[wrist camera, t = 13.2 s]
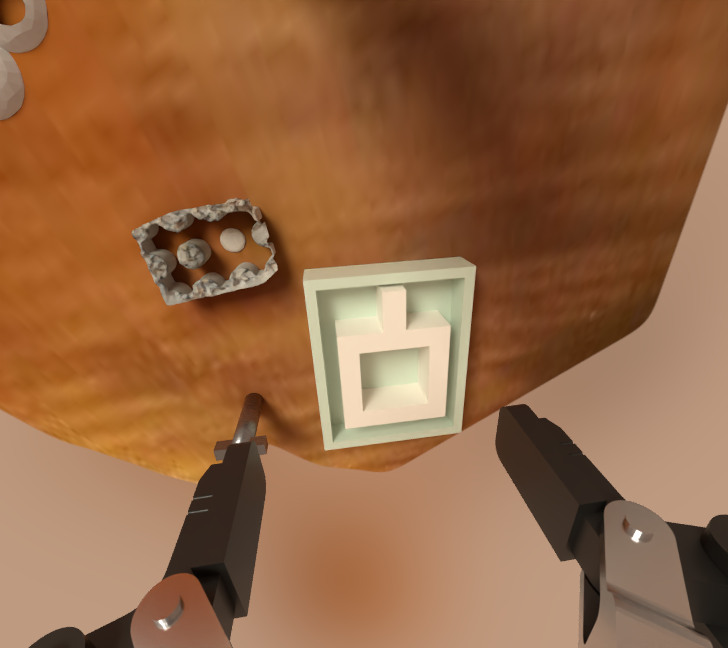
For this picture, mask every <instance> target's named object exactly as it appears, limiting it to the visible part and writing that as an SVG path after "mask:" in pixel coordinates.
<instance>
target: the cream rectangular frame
mask: <svg viewBox="0 0 728 648" xmlns="http://www.w3.org/2000/svg"><path fill="white" fill-rule="evenodd" d="M375 286H376V313H377V316H372V317H362V318H352V319H341V320H335V328H336V338H337V349H338V360H339V371H340V381H341V392H342V403H343V412H344V421H345V429H349V428H357V427H365V426H373V425H381V424H389V423H397V422H405V421H412V420H420V419H428V418H436V417H444V416H445V410H446V394H447V379H448V363H449V347H450V331H451V325H450V324H449V323H448V322H447V321H446V320H445V318H444V317H443V316H442V315H441V314H440V312H439V311H438V310H435V311H424V312H414V313H406V290H405V288H404V287H403V285H402V284H401V283H397V284H385V285H375ZM417 347H419V353H418V383H411V384H402V385H393V386H385V387H376V388H367V389H362V388H361V372H360V356H359V354H361V353H370V352H380V351H389V350H399V349H408V348H417Z"/></svg>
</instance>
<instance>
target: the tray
mask: <svg viewBox="0 0 728 648" xmlns="http://www.w3.org/2000/svg"><path fill="white" fill-rule="evenodd" d="M475 273H476V266H475V265H473V264H472V263H470V262H468V261H467V260H465V259H464V258H462V257H451V258H439V259H427V260H414V261H402V262H390V263H377V264H365V265H353V266H341V267H328V268H316V269H304V277H303V285H304V292H305V300H306V308H307V316H308V323H309V331H310V339H311V347H312V355H313V362H314V370H315V378H316V386H317V393H318V401H319V409H320V417H321V424H322V432H323V440H324V448H325V450H332V449H340V448H347V447H355V446H363V445H370V444H378V443H385V442H393V441H401V440H408V439H416V438H423V437H431V436H439V435H446V434H454V433H461V429H462V418H463V407H464V396H465V385H466V374H467V363H468V351H469V340H470V329H471V318H472V307H473V296H474V285H475ZM397 283H401V284H402V285H403V287H404V288H405V290H406V313H414V312H424V311H435V310H438V311H439V312H440V314H441V315H442V316H443V317H444V318H445V320H446V321H447V322H448V323H449V324H450V325H451V331H450V347H449V363H448V379H447V394H446V410H445V416H444V417H436V418H428V419H420V420H412V421H405V422H397V423H389V424H381V425H373V426H365V427H357V428H349V429H345V421H344V412H343V403H342V392H341V381H340V371H339V360H338V349H337V338H336V328H335V320H341V319H352V318H362V317H372V316H377V313H376V286H375V285H385V284H397ZM418 353H419V347H417V348H408V349H399V350H389V351H380V352H370V353H361V354H359V356H360V372H361V388H362V389H367V388H376V387H385V386H393V385H402V384H411V383H418Z"/></svg>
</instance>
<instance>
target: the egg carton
mask: <svg viewBox="0 0 728 648" xmlns="http://www.w3.org/2000/svg"><path fill="white" fill-rule="evenodd" d="M237 211H245V212H249V213H250V214H251V215H252V217H253V218H254V220H255V221H257V222H256V223H255V224H254V226H253V228H252V237H253V239H254V241H255V242H256V243H257V244H258V245H260V246H263V247H268V248H270V249H271V251H272V254H273V255H272V256H271V257H270V258H269V261H267V263H266V266H265V269H264V270H259V269H258V268H257V266H255V265H254V264H252V263H249V262H244V263H241V264H240V265H238V266H237V268H236V269H235V270H234V271H233V272H232V273H231V275H230V278H229V279H230V280H225V279H224V277H223V276H221V275H220V274H218V273H215V272H212V273H207V274H205V275H204V276H203V277H202V278H201V279H200V280H198V281H197V282H195V284H194V285H193V290H192V289H191V288H190V287H189V286H188V285H187V284H185V283H181V282H175V281H174V279H173V278H172V275H171V272H172V271H173V270H174V269H175V268H176V265H177V260H176V257H175V256H174V255H173V253H171V252H170V251H168V250H166V249H157V248H156V246H155V245H154V243H153V241H152V238H153V237H154V236H155V235H156V234H157V233H158V230H159V227H158V225H159V226H162V227H163V228H164V229H166V230H168V231H173V232H180V231H182V230H183V229H186V228H187V227H189V226H190V225H192V223H193V222H194V216H195V217H196V218H198V219H200V220H202V219H204V220H207V221H210V222H212V221H214V220H216V221H219V220H221V218H222V217H224V216H225V215H226V214H227V213H230V212H237ZM261 218H262V214H261V211H260V209H259V207H253V206H251V203H250V201H249V199H246V200H242V199H239V198H234V199H230V200H227V202H226V203H223V204H217V205H212V206H210V205H205V206H201V207H197V208H191V209H184V210H179V211H175V212H171V213H168V214H166V215H164V216H161V217H159V218H157V219H155V220H153V221H151V222H149V223H146V224H144V225H142V226H141V227H139V228H137V229H135V230H133V231H132V236H133V237H134V239H136V240H137V241H138V244H139V246H140V248H141V255H142V257H143V258H144V259H145V261H146V262H147V265H148V269H149V271H150V272H151V274H152V276H153V279H154V282H155V283H156V284H157V285H158V286H159V288H160V291H161V294H162V297H163V299H164V301H165V302H166V304H167V305H173V304H178V303H183V302H187V301H191V300H194V299H198V298H204V297H207V296H216V295H219V294H223V293H226V292H231V291H235V290H238V289H244V288H248V287H253V286H257V285H260V284H262V283H264V282H265V281H267V280H268V279H269V278H270V277H271V276H272V275H273V274H274V273H275V272H276V271H277V270H278V266H277V264H276V262H275V260H274V259H273V257H274V255H275V253H276V251H275V248H274V245H273V243H272V242H270V243H268V242H267V239H268V238H269V234H268V230H267V227H266V224H265V222H264V223H261V222H260V219H261ZM220 241H221V244H222V246H223V247H224V248H225V249H226V250H228V251H230V252H239V251H241V250H242V249H243V248H244V246H245V243H246V239H245V236H244V235H243V233H241V231H239V230H238V229H235V228H228V229H225V230H224V231H223V232H222V234H221V236H220ZM177 256H178V260H179V263H180V264H181V265H183V266H185V267H186V268H188V269H197V268H199V267H201V266H202V265H203V264H204V263H205V262H206V261H208V260H209V258H210V256H211V248H210V246H209V245H208V244H207V242H205V241H204V240H202V239H197V238H194V239H191V240H189V241H187V242H185V243H183V244H181V245H180V246H179V248H178V251H177Z"/></svg>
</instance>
